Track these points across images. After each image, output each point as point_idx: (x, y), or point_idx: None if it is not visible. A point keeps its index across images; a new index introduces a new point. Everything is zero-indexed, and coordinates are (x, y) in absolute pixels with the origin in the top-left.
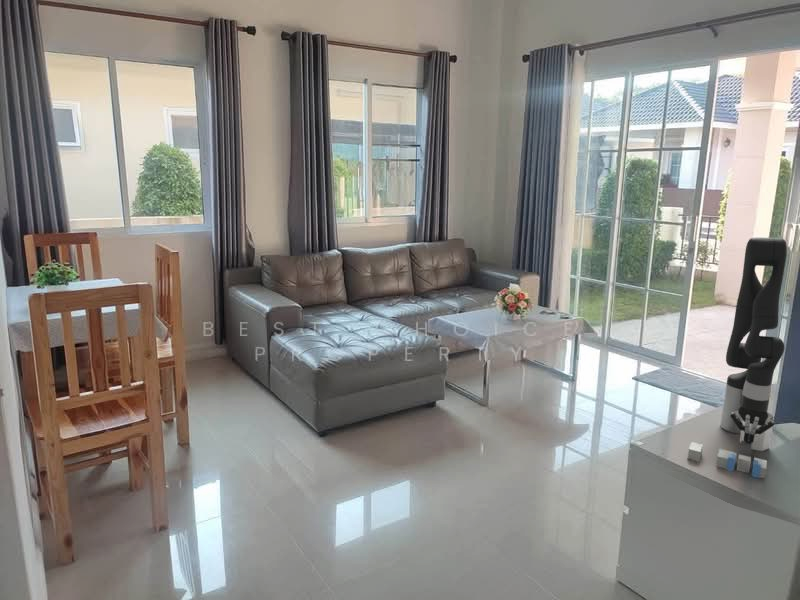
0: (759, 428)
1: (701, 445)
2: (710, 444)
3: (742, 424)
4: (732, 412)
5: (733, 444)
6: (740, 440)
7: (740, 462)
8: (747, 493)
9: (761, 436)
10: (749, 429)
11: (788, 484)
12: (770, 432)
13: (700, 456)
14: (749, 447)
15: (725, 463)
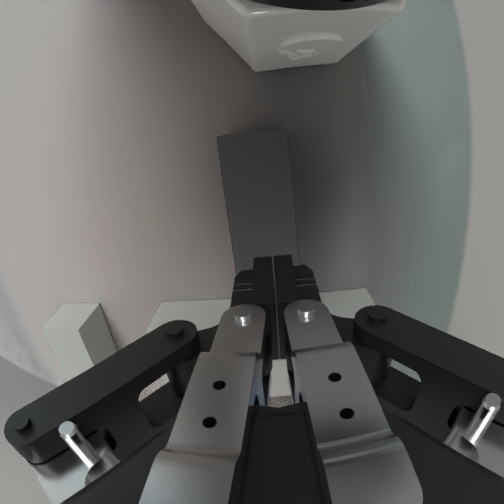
0: (376, 345)
1: (78, 340)
2: (87, 168)
3: (181, 361)
4: (28, 463)
5: (179, 71)
6: (205, 20)
7: None
8: None
9: (344, 39)
10: (268, 334)
11: None
12: None
13: (110, 348)
14: (284, 225)
15: None
